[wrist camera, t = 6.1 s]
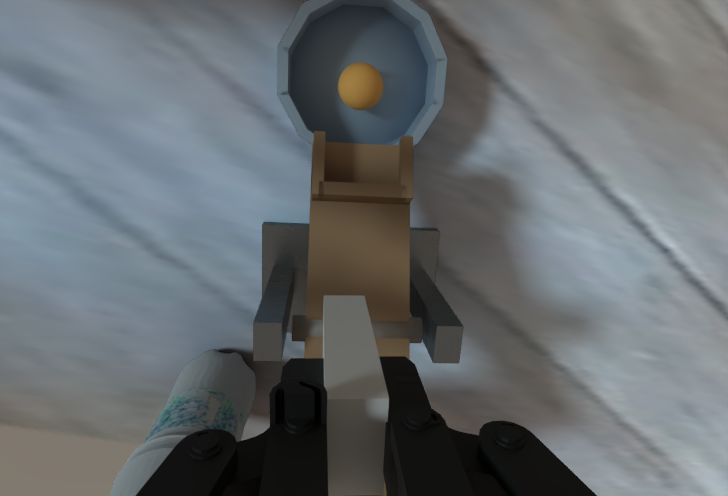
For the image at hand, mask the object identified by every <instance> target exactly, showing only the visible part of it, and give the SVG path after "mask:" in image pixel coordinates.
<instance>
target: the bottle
mask: <svg viewBox="0 0 728 496" xmlns="http://www.w3.org/2000/svg"><path fill="white" fill-rule="evenodd" d="M255 390H256V378H255V374H254V371H253V370H252V369H251V368H249V367H248V366H247V365H246V364H245V362H244V361H243V358H242V356H241V355H240V354H238V353H236V352H233V353H230V354H227V353H220V352H219V351H218V350H216V349H212V350H208V351H206V352H205V353H203V354H202V355H200V356H199V357H197V358H196V359H194V360H192V361H191V362H189V363H188V364H187V365H186V366H185V367H184V369H183V370H182V372H181V373H180V375H179V377H178V379H177V381H176V383H175V385H174V387H173V389H172V392H171V394H170V397H169V399H168V401H167V404H166V405H165V407H164V408H163V410H162V412H161V414H160V416H159V417H158V419H157V421H156V423H155V424H154V426H153V428H152V430H151V432H150V433H149V435H148V437H147V439H146V440H145V442H144V444H143V445H141V446H140V447H138V448H137V450H135V451H134V452H133V453H132V454H131V456H130V457H129V459H128V460H127V462H126V464H125V466H124V467H123V468H122V469H121V470H120V472H119V473H118V475H117V477H116V479H115V482H114V484H113V488H112V491H111V494H110V496H136V494H137V493H138V492H139V491H140V489H141V488H142V487H143V486H144V484H145V483H146V482H147V481H148V480H149V478H150V477H151V476H152V475H153V473H154V472H155V471H156V470H157V468H158V467H159V466H160V465H161V463H162V462H163V461H164V460H165V458H166V457H167V456H168V455H169V454H170V452H171V451H172V450H173V449H174V447H175V446H176V445H177V444H178V443H179V442H180V441H181V440H182V439H183V438H185V437H186V436H188V435H190V434H192V433H194V432H197V431H201V430H205V429H221V430H224V431H228V432H229V433H231V434H232V435H233V436H234V437H235V439H236V442H239V441H241V438H242V434H243V430H244V426H245V424H246V421H247V419H248V416H249V414H250V411H251V408H252V405H253V402H254V398H255Z"/></svg>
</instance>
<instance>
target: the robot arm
mask: <svg viewBox="0 0 728 496" xmlns="http://www.w3.org/2000/svg"><path fill="white" fill-rule="evenodd" d="M384 481H385V486H386V492H387V496H597V495H596V494H595V493H594V492H592V491H591V490H590V489H589V488H588V487H587V486H586V485H585V484H584V483H583V482H582V481H581V480H580V479H579V478H578V477H577V476H576V475H575V474H574V473H573V472H572V471H571V470H570V469H569V468H568V467H567V466H566V465H565V464H564V463H563V462H561V461H560V460H559V459H558V458H557V457H556V456H555V455H554V454H553V453H552V452H551V451H550V450H549V449H548V448H547V447H546V446H545V445H544V444H543V443H542V442H541V441H540V440H539V439H538V438H537V437H536V436H535V435H534V434H533V433H531V432H530V431H528V430H527V429H526V428H524V427H522V426H520V425H517V424H515V423H512V422H507V421H492V422H489V423H486V424H484V425H483V427H482V428H481V429H480V433H479V436H478V435H473V434H468V433H463V432H459V431H456V430H453V429H451V428H449V427H447V425H446V422H445V420H444V419H443V418H442V416H441V415H440V414H439V413H437V412H436V411H434V410H433V409H431V406H430V403H429V401H428V398H427V395H426V393H425V390H424V387H423V385H422V382H421V379H420V377H419V374H418V372H417V369H416V366H415V364H414V363H412V362H411V361H410V360H409V359H408V358H407V357H405V356H382V357H379V354H378V350H377V346H376V342H375V337H374V333H373V329H372V325H371V321H370V316H369V312H368V308H367V304H366V300H365V296H357V295H324V306H323V358H293V359H290V360H289V361H288V362H287V363H286V365H285V366H284V367H283V370H282V376H281V383H279V384H278V385H276V386H275V387H274V388H273V389H272V391H271V393H270V428H269V429H267V430H266V431H265V432H264V433H262V434H260V435H258V436H256V437H253V438H250V439H247V440H243V441H239V442H236V439H235V437H234V436H233V435H232V434H231V433H229V432H228V431H224V430H221V429H205V430H201V431H197V432H194V433H192V434H190V435H188V436H186V437H185V438H183V439H182V440H181V441H180V442H179V443H178V444H177V445H176V446H175V447H174V449H173V450H172V451H171V452H170V454H169V455H168V456H167V457H166V458H165V460H164V461H163V462H162V463H161V465H160V466H159V467H158V468H157V470H156V471H155V472H154V473H153V475H152V476H151V477H150V478H149V480H148V481H147V482H146V483H145V484H144V486H143V487H142V488H141V489H140V491H139V492H138V493H137V494H136V496H358V495H383V493H384Z"/></svg>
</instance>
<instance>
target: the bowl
mask: <svg viewBox="0 0 728 496" xmlns="http://www.w3.org/2000/svg"><path fill="white" fill-rule="evenodd" d="M302 4H303V5H301V6H300V8H299V10H298V12H297V13H296V15H295V17H294V19H293V20H292V22H291V24H290V25H289V27H288V29H287V31H286V32H285V34H284V36H283V38H282V39H281V41H280V43H279V45H278V62H277V95H278V97H279V99H280V101H281V103H282V105H283V107H284V109H285V111H286V112H287V114H288V116H289V118H290V120H291V122H292V124H293V126H294V128H295V129H296V131H297V133H298V135H299V136H300V137H301V138H302V139H304V140H305V141H307V142H309V143H310V144H312V145H313V141H314V131H325V142H342V143H360V144H378V145H396V146H398V144H399V142H400V140H401V138H402V136H412V137H413V146H414V145H415V144H417V143H419V141H420V140H421V138H422V137H423V135H424V134H425V132H426V130H427V129H428V127H429V126H430V124H431V123H432V121H433V120H434V118H435V117H436V115H437V114H438V112H439V111H440V109H441V108H442V106H443V101H444V90H445V80H446V69H447V56H446V54H445V51H444V49H443V46H442V44H441V42H440V39H439V37H438V34H437V32H436V30H435V27H434V25H433V22H432V20H431V18H430V15H428V13H427V12H426V11H424V10H423V9H422V8H420V7H419V6H418V5H416V4H415V3H414V2H412V1H411V0H308V1H306V2H304V3H302ZM359 62H363V63H368V64H370V65H372V66H373V67H375V68H376V69H377V70H378V72H379V73H380V75H381V77H382V80H383V93H382V96H381V98H380V100H379V101H378V103H377V104H376V105H374V106H373V107H371V108H369V109H367V110H355V109H352V108H350V107H348V106H347V105H346V104H345V103H344V102H343V101H342V99H341V97H340V95H339V91H338V82H339V78H340V76H341V74H342V72H343V71H344V70H345V69H346V68H347V67H348V66H350V65H351V64H354V63H359Z"/></svg>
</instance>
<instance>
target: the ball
mask: <svg viewBox="0 0 728 496" xmlns="http://www.w3.org/2000/svg"><path fill="white" fill-rule="evenodd" d="M338 91H339V95H340V97H341V99H342V101H343V102H344V103H345V104H346V105H347V106H348V107H350V108H352V109H355V110H367V109H369V108H371V107H373V106H374V105H376V104H377V103H378V101H379V100H380V98H381V96H382V93H383V80H382V77H381V75H380V73H379V72H378V70H377V69H376V68H375V67H373V66H372V65H370V64H368V63H363V62H359V63H354V64H351V65H350V66H348V67H347V68H346V69H345V70H344V71H343V72H342V74H341V76H340V78H339V82H338Z"/></svg>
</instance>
